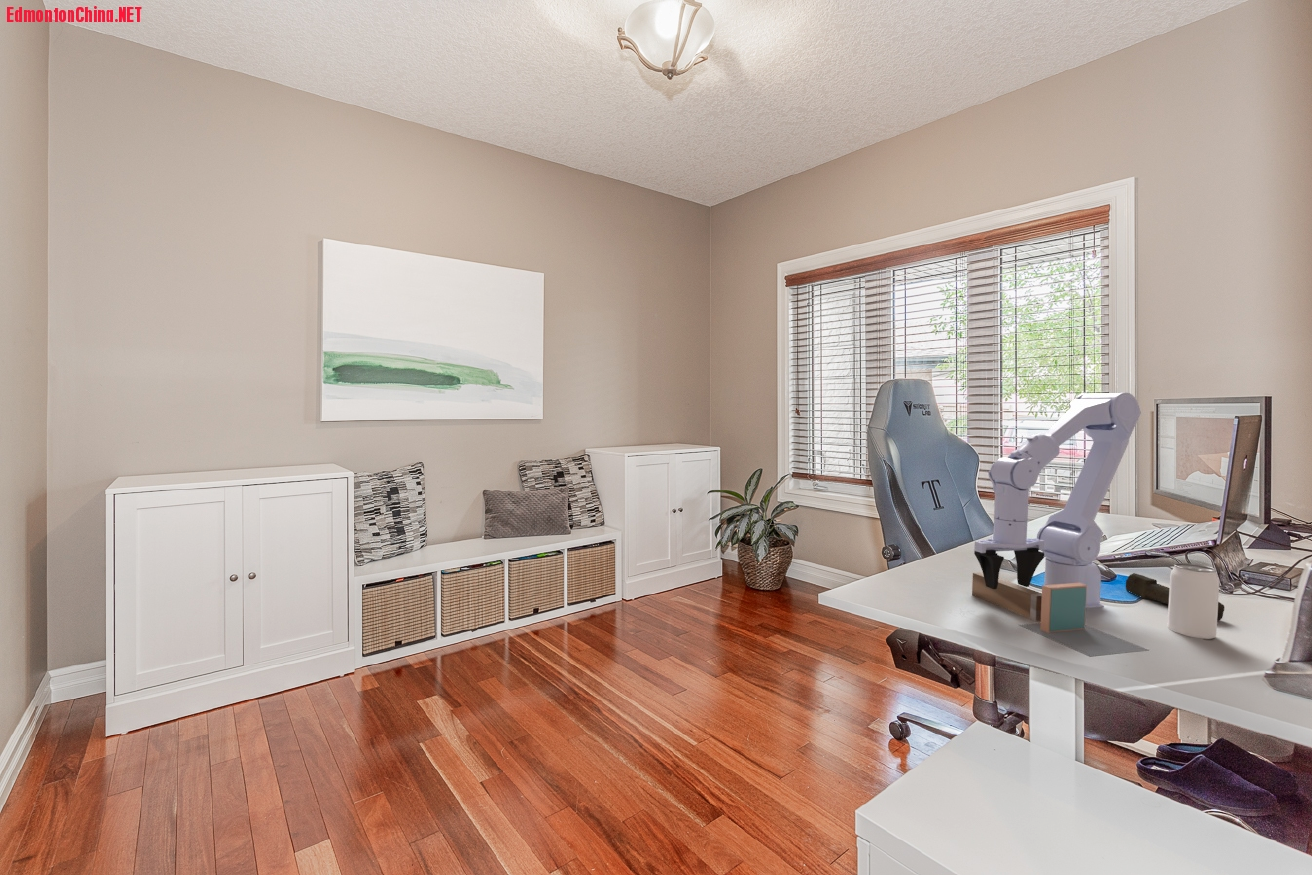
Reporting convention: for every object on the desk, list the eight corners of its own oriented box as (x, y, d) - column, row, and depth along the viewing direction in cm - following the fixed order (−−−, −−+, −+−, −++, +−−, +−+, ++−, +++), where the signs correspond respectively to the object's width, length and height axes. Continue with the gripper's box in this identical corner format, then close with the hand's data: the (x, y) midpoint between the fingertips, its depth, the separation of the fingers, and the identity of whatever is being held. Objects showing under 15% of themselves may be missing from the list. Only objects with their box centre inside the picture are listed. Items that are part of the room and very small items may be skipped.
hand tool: (1226, 622, 113) (1227, 598, 113) (1206, 623, 113) (1207, 598, 112) (1137, 591, 132) (1138, 570, 132) (1120, 592, 131) (1121, 571, 131)
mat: (1072, 622, 112) (1072, 619, 112) (1149, 652, 98) (1149, 649, 98) (1018, 626, 109) (1018, 624, 109) (1089, 658, 96) (1090, 656, 96)
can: (1220, 643, 102) (1224, 574, 102) (1171, 635, 106) (1174, 568, 105) (1210, 631, 108) (1214, 565, 107) (1164, 624, 111) (1167, 560, 110)
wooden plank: (982, 595, 127) (983, 571, 127) (1046, 622, 112) (1047, 595, 112) (971, 596, 127) (972, 572, 126) (1035, 623, 111) (1036, 596, 111)
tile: (1076, 625, 109) (1078, 582, 108) (1085, 629, 107) (1087, 585, 107) (1040, 629, 107) (1042, 585, 107) (1048, 633, 105) (1050, 588, 105)
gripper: (1024, 514, 124) (1021, 578, 125) (964, 516, 121) (961, 582, 121) (1054, 520, 117) (1050, 589, 118) (991, 523, 114) (988, 593, 114)
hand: (1007, 586), depth 119 cm, fingers open, 7 cm apart
